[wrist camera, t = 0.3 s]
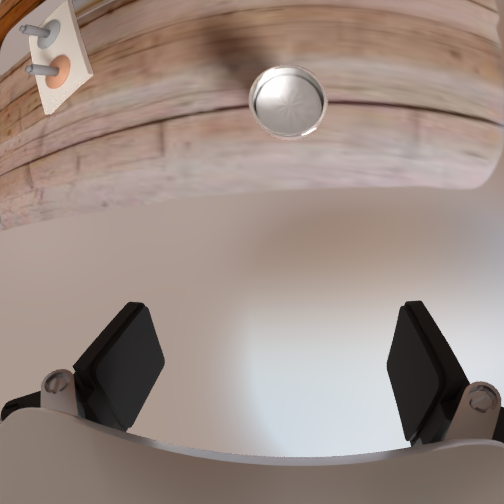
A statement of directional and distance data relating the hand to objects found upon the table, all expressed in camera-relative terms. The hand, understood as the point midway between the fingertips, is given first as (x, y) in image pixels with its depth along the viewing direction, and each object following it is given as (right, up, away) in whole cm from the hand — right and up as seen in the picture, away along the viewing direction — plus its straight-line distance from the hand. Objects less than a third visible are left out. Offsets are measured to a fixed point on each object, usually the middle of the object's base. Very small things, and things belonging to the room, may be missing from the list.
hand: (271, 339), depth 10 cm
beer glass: (+4, +21, +25) cm, 33 cm away
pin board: (-37, +40, +23) cm, 59 cm away
